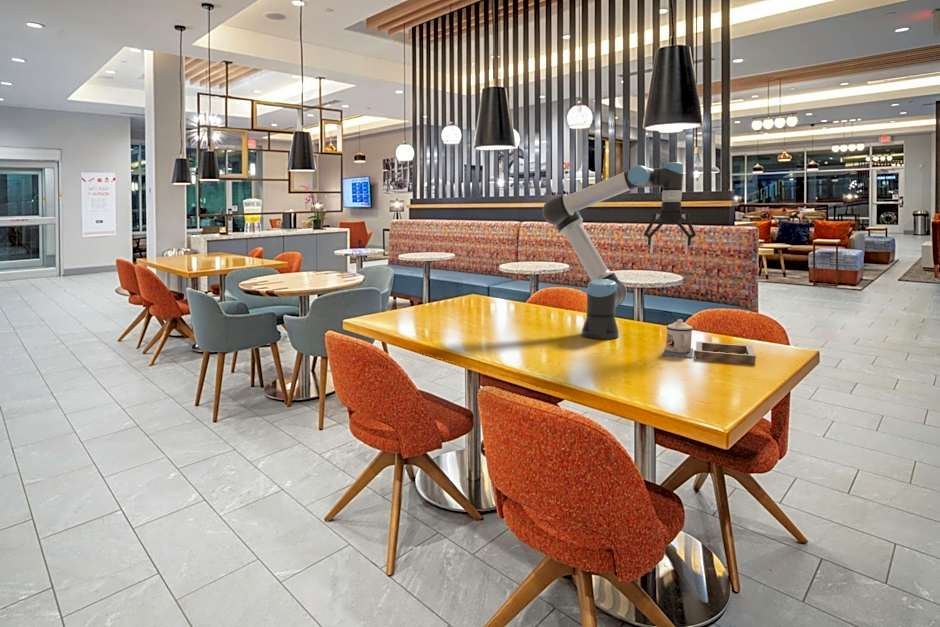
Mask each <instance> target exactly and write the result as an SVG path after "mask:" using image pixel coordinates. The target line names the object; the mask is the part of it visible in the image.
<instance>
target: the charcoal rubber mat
mask: <svg viewBox="0 0 940 627" xmlns="http://www.w3.org/2000/svg"><path fill="white" fill-rule="evenodd" d="M693 352H694V348H692V347H691V351H690V352H688V353H675V352H670V351H667V350H666V345H665V347H664V349H663V352H662V357H669V358H671V357H673V358H682V359H683V358H685V359H693V357H694V356H693V355H694V353H693Z"/></svg>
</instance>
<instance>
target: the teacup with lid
mask: <svg viewBox="0 0 940 627" xmlns="http://www.w3.org/2000/svg"><path fill="white" fill-rule="evenodd" d="M683 321H684V320H683V319H677V320H676V321H674V322H673V323H670V324H668V325H667V326H666V342H665V346H666V350H667V351H670V352H675V353H688V352H690V351H691V348H692V347H691V346H692V336H693V335H692V333H693V327H692V326H691V325H688V324H687V323H685V322H683Z"/></svg>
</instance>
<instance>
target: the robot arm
mask: <svg viewBox="0 0 940 627" xmlns="http://www.w3.org/2000/svg"><path fill="white" fill-rule="evenodd" d="M683 178H684V164H683V163H682V162H679V161H672V162H669V161H668V162H664V164H663V167H658V168H657V167H656V168H655V167H654V168H653V167H651V168H649V167H647V166H644V165H641V164H639V165H638V164H637V165H634V166H632V167H631V168H630V169H628V170H627V171H623V172H621V173H619V174H616V175H614V176H611V177H609V178H607V179H604V180H601V181H599V182H597V183H594V184H592V185H590V186H586V187H585V188H583V189H579V190H577V191H575V192H572V193H570V194H567V193H563V194H561V195H559V196H555V197H553V198H550V199H548V200H547V201H546V202H545V203H544V204H543V207H542V216H543V219H544V220H545V222H546V223H548V224H550V225H553V226H555V227H556V228H557V230H558V232H559V234H561V235H565V237H566V239H567V241H568V242H569V245H570V246H571V247H572V249H573V251H574V253H575V255H576V256H577V258H578V260H579V262H580V263H581V264H582V267H583V268H584V270H585V272H586V273H587V275H588V277H589V278H590V280H591V281H589V282H588V284H587V289H586V292H587V293H586V294H587V295H586V297H587V298H586V318H585V321H584V324H583V326H582V329H581V336H582V337H584V338H589V339H594V340H612V339H617V338H619V333H620V332H619V328H618V325H617V322H616V307H619V306H620V305H622V304H623V303H624V301H625V300H626V298H627V294H628V289H627V287H626V284H625V283H623V281H621V280H619V278H618V276H617V275H616V272H614V271H610V270H609V268H608V267H607V265H606V263H605V261H604V260H603V258H602V257H601V254H600V253H599V251H598V249H597V248H596V246H595V245H594V244H595V243H593V242H592V239H591V237H590V236H589V234H588V232H587V231H586V229H585V227H584V226H583V221H584V219H583V217H582V216H581V210H583V209H586V208H588V207H591V206H593V205H596V204H599V203H601V202H604V201H606V200H608V199H611V198H613V197H615V196H618V195H621V194H623V193H626V192H628V191H630V190H634V189H637V188H657V187H659V188H662V194H661V200H662V202H661V213H653V214H652V219H651V220H650V222H649V224H648V226H647V228H646V229H645V231H644V233H643V236H644V237H647V245H648V246H650V247H649V249H650V250H649V251H650V252H649V254H650V255H651V254H653V252H654V250H653V249H654V235H655V233H657V232H658V231H659V229H660V228H661V227H662V226H664V225H667V226H668V225H673V226H674V225H677V226H678V227H679V228H680V229H681V231H682V232H683V233H684V234H685V236H686V238H685V248H684V254H685V255H688V247H690V246H691V244H692V238H695V237H696V236H697V233H696V232H695V230H694V226H692V225H693V224H692V222H691V220H690V215H689V213H684V214H682V212H681V211H682V202H681V201H682V196H683V181H684V180H683ZM659 218H660V219H661V221H660V222H659V223H658V224H657V225H656V227H655V228H654V229H653V230H651V229H652V227H653V226H654V224H655V221H656V220H658V219H659ZM681 218H683V219H684V220H685V221H686V224H687V226H688V228H689V231H690V232H689V231H688V230H687V229H686V228H685V226H683V224H682V223H681V221H680V220H681ZM650 231H651V232H650ZM690 233H691V234H690Z"/></svg>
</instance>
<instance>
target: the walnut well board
mask: <svg viewBox="0 0 940 627" xmlns="http://www.w3.org/2000/svg"><path fill="white" fill-rule="evenodd" d="M713 351H720V352H713ZM726 352H734V353H726ZM738 353H746V354H738ZM694 357H695V359H694V360H697V361H709V362H722V363H732V364H743V365H753V366H754V365H756V361H757V360H756V357H757V356H756V352H755V350H754V348H753V345H747V344H734V343H719V342H707V341H705V342H704V341H696V343H695V356H694Z"/></svg>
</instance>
